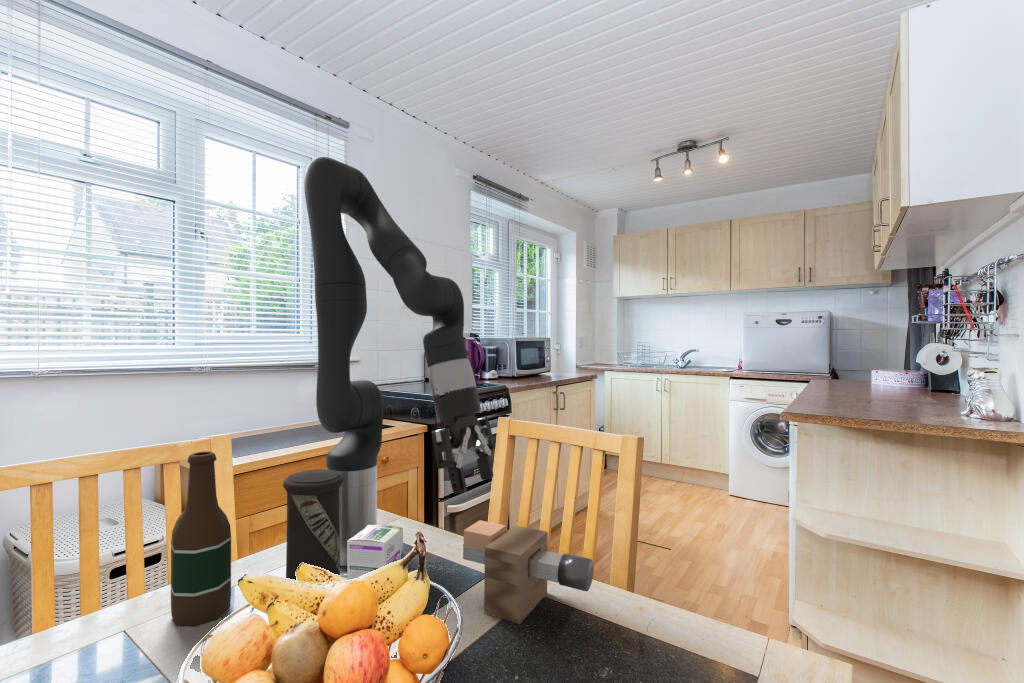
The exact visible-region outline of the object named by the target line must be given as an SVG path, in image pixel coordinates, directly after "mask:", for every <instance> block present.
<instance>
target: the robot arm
mask: <svg viewBox="0 0 1024 683" xmlns="http://www.w3.org/2000/svg"><path fill="white" fill-rule="evenodd" d="M304 174H305V175H304V185H303V186H304V188H303V189H304V198H305V205H306V211H307V216H308V224H309V229H310V236H311V245H312V257H313V271H314V272H313V274H314V276H313V277H314V298H315V299H314V300H315V310H316V311H315V312H316V323H317V325H316V327H317V329H316V330H317V372H316V373H317V375H316V394H315V395H316V397H315V400H316V401H315V403H316V411H317V416H318V420H319V423H320V425H321V426H322V428H324V430H326V431H327V432H328V433H332V434H339V433H343V432H344V434H343V437H342V438H341V440H339V442H338V443H336V445H334V446H333V447H332V448H331V449H330V450H328V451H327V454H326V456H325V457H326V459H325V465H326V466H325V469H329V470H335V471H337V472H339V473H340V474H341V475H342V476H343V483H342V484H341V486H340V488H339V526H340V567H347V541H348V540H349V539H350V538H352V537H353V536H355V535H356V534H357V533H359V532H360V531H362V530H363V529H365V528H366V526H367V525H378V521H377V520H378V519H377V518H378V457H379V456H378V455H379V453H380V451H381V447H382V440H383V424H384V422H383V421H384V400H383V397H382V393H381V391H380V388H379V387H378V386H377V385H376V384H375V383H374V382H373V381H371V380H366V379H362V380H361V379H359V380H351V369H350V367H351V364H350V363H351V354H352V350H353V346H354V344H355V342H356V340H357V337H358V336H359V333H360V332H361V329H362V327H363V325H364V322H365V319H366V316H367V313H368V312H367V311H368V300H367V285H366V278H365V277H366V276H365V274H364V272H363V271H364V270H363V269H362V266H361V264H360V262H359V260H358V258H357V256H356V254H355V253H354V251H353V249H352V247H351V245H350V244H349V242H348V241H349V240H348V239H347V236H346V234H345V230H344V228H343V221H342V220H343V219H342V214H343V215H347V216H349V217H350V218H351V219H353V220H354V221H355V222H356V223H358V224H359V225H360V226H361V227H362V228H363V230H364V231H365V233H366V237H367V238H366V239H367V244H368V247H369V250H370V252H371V253H372V255H373V256H374V258H375V259H376V261H377V262H378V264H380V266H381V267H382V268H383V269H384V270H385V272H386V273H387V274H388V275H389V277H390V278H392V281H393V283H394V286H395V288H396V290H397V292H398V295H399V297H400V299H401V301H402V303H404V306H406V307H407V309H409V310H410V311H411V312H412V313H414V314H416V315H418V316H421V317H422V316H424V317H431V318H432V330H430V331H427V333H426V334H424V336H423V339H422V344H423V345H422V346H423V350H424V355H425V360H426V365H427V369H428V380H429V381H428V382H429V387H430V391H431V396H432V400H433V405H434V410H435V415H436V420H437V421H439V422H442V423H443V428H439V429H436V430H432V431H431V438H432V444H433V449H434V455H435V460H436V467H437V469H439V470H442V469H443V470H445V471H447V472H448V476H449V481H450V485H451V490H452V492H453V493H454V494H464V493H465V492H467V490H468V486H467V484H466V483H467V482H466V478H465V472H464V469H463V467H462V463H463V457H464V456H465V455H466V453H467V450H469V451H472V452H473V453H474V455H475V456H476V460H477V461H476V462H477V466H478V472H479V475H480V478H481V480H482V481H486V480H490V479H493V478H494V472H493V466H492V461H491V455H492V451H495V450H496V443H495V440H494V436H493V432H492V428H491V425H490V424H491V423H490V421H489V418H488V416H483V417H480V418H478V416H477V414H479V413H480V412H481V411H482V408H481V407H482V406H481V403H480V402H481V401H480V397H479V393H478V389H477V383H476V379H475V375H474V371H473V367H472V364H471V362H470V360H469V356H468V350H467V347H466V346H467V344H466V342H465V338H464V329H465V328H464V327H465V305H464V304H465V303H464V297H463V293H462V290H461V288H460V287H459V285H458V283H457V282H455V281H454V280H453V279H451V278H449V277H444V276H439V275H438V276H437V275H433V274H431V273H430V272H428V270H426V269H427V266H428V265H427V264H428V262H427V259H426V256H425V255H424V254H423V252H422V251H421V250H420V248H419V247H418V246H417V245H416V244H415V243H414V242H413V240H411V238H409V236H408V235H407V234H406V233H405V231H403V230H402V228H400V226H399V225H398V224H397V222H396V221H395V220H394V219H393V217H392V216H391V214H390V213H389V212H388V210H387V208H386V207H385V206H384V204H383V202H382V201H381V199H380V197H379V196H378V194H377V192H376V191H375V189H374V187H373V185H372V184H371V182H370V181H369V179H368V178H367V177H366V176H365V174H364V173H363V172H362V171H361V170H359V169H357V168H355V167H353V166H350V165H349V164H347V163H344V162H343V161H341V160H336V159H335V158H332V157H329V156H325V155H321V156H320V155H319V156H316V157H314V158H313V159H312V160H310V162H309V163H308V165H307V167H306V170H305V173H304ZM486 438H487V439H486ZM443 453H444V455H445V459H444V457H443ZM454 458H455V459H454Z"/></svg>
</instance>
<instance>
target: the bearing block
mask: <svg viewBox="0 0 1024 683" xmlns="http://www.w3.org/2000/svg"><path fill="white" fill-rule="evenodd" d="M548 536H549V535H548V531H546V530H541V529H536V528H531V527H526V526H520V525H518V524H517V525H516V524H514V525H513V526H511V528H509V529H507V530H506V532H505V533H503V534H502V535H501V536H499V537H498V538H497V539H495V540H494V541H492V542H491V543H490V544H488V545H487V546H486V547H485V564H484V583H483V584H484V590H483V591H484V592H483V593H484V595H483V596H484V597H483V598H484V604H483V605H484V606H483V608H484V609H483V610H484V611H483V613H484V614H486V615H489V616H492V617H495V618H498V619H502V620H505V621H508V622H512V623H514V624H517V625H520V624H522V623H523V621H524V620H525V619H526V618H527V617H528V616H529V614H530V613H531V612H532V611H533V610H534V609H535V608H536V606H537V605H538V604H539V603H540V602H541V601H542V599H543V598H544V597H545V596H546V595H547V594H548V580H545V579H541V578H537V577H533V576H529V575H528V558H529V557H530V556H531V555H533V554H534V553H535V552H536V551H537V550H538V549H539V550H544V551H548V547H549V546H548V544H549V543H548V542H549V541H548Z"/></svg>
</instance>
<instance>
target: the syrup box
mask: <svg viewBox="0 0 1024 683" xmlns="http://www.w3.org/2000/svg"><path fill="white" fill-rule="evenodd" d="M402 558H403V559H404V529H403V527H401V526H395V525H390V524H389V525H387V524H377V525H367V526H366V528H365V529H363V530H362V531H360V532H359V533H357V534H356V535H355V536H353V537H352V538H350V539H349V540H348V541H347V566H346V567H347V580H349V579H354V578H358V577H359V576H361V575H363V574H366V573H368V572H371V571H373V570H376V569H378V568H380V567H382V566H385V565H387V564H389V563H391V562H394V561H397V560H399V559H402Z"/></svg>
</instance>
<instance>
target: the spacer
mask: <svg viewBox="0 0 1024 683" xmlns="http://www.w3.org/2000/svg"><path fill="white" fill-rule="evenodd" d="M506 531H507V526H506V525H505V524H500V523H496V522H491V521H486V520H481V519H479V520H478V521H476V522H475V523H473V524H471V525H470V526H468V527H467V528H465V529H464V530H463V544H464V546H467V547H471V548H475V549H479V550H483V551H485V547H486V546H487V545H488V544H490V543H491V542H492V541H494V540H495V539H497V538H498V537H499V536H501V535H502V534H503V533H505V532H506Z"/></svg>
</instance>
